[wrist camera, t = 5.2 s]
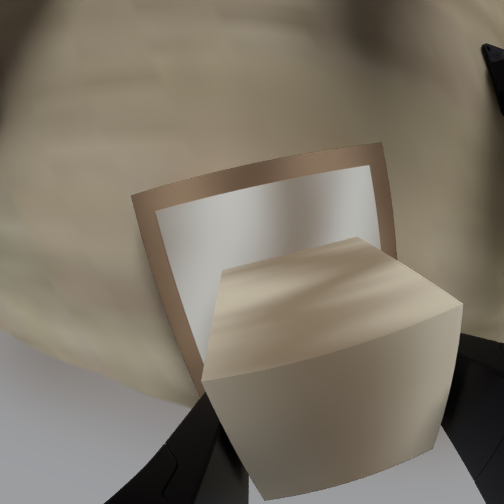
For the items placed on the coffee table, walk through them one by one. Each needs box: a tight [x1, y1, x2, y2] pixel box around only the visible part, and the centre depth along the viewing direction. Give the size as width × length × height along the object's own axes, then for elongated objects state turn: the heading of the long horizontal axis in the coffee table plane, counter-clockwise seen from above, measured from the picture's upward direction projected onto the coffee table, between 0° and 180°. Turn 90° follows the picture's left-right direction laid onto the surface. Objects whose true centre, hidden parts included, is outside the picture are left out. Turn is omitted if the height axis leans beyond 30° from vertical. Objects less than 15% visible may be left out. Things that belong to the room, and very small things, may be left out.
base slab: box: [131, 143, 397, 398], centre depth 15 cm, size 12×12×3 cm
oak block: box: [201, 237, 463, 501], centre depth 8 cm, size 5×5×6 cm
